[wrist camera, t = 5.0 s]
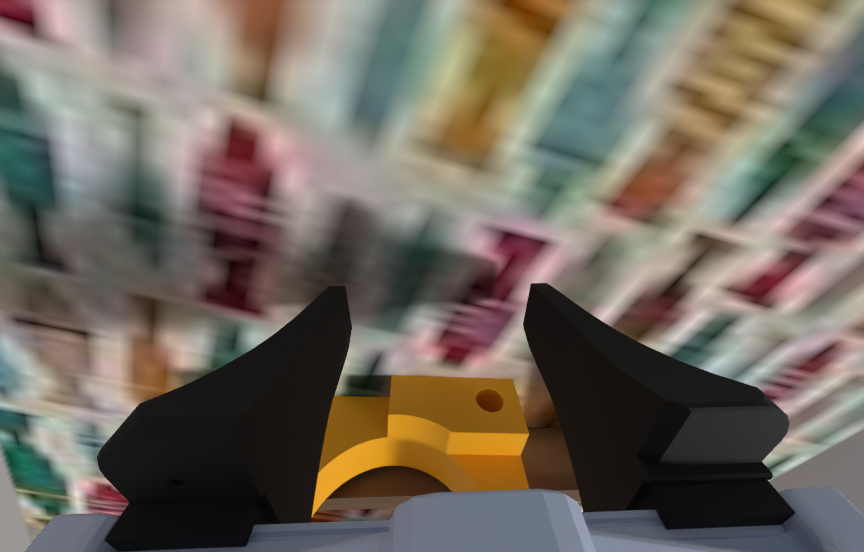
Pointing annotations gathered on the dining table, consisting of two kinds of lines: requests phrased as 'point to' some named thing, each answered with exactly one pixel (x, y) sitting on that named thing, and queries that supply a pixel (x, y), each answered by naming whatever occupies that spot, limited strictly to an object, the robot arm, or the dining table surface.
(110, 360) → the dining table surface
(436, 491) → the bracket
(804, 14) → the dining table surface
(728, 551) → the robot arm
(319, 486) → the pipe clamp
